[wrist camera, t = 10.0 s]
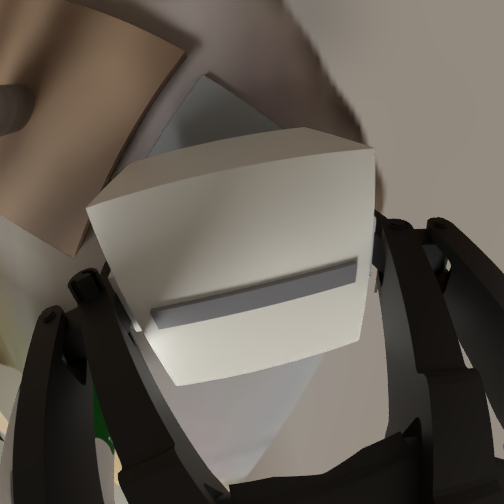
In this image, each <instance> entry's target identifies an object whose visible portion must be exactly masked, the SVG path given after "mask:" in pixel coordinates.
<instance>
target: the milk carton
mask: <svg viewBox="0 0 504 504" xmlns="http://www.w3.org/2000/svg"><path fill="white" fill-rule="evenodd" d="M63 362H64V360H63ZM20 386H21V384H20ZM19 391H20V387H19V390H18V393H17V396H16V399H15V403H14V406H13V409H12V413H11V417H10V420H9V424H8V428H7V432H6V437H5V441H4V447H3V452H2V457H1V464H0V504H14V499H13V477H12V462H13V440H14V428H15V419H16V411H17V404H18V397H19ZM93 415H94V432H95V444H96V454H97V463H98V470H99V477H100V483H101V489H102V494H103V500H104V504H115V501H114V453H115V447H114V445H113V442H112V440H111V437H110V434H109V431H108V429H107V426H106V423H105V420H104V417H103V414H102V411H101V408H100V405H99V401H98V398H97V395H96V391H95V387H94V384H93Z"/></svg>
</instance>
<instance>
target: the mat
mask: <svg viewBox="0 0 504 504" xmlns="http://www.w3.org/2000/svg"><path fill="white" fill-rule="evenodd" d="M276 130H283V129H282V128H281V127H279V126H278V125H277V124H275V123H274V122H273V121H271V120H270V119H269V118H267V117H266V116H265V115H263V114H262V113H260V112H259V111H258V110H256V109H255V108H253V107H252V106H251V105H249V104H248V103H246V102H245V101H243V100H242V99H240V98H239V97H237V96H236V95H234V94H233V93H231V92H230V91H228V90H227V89H225V88H224V87H222V86H221V85H219V84H217V83H216V82H214V81H213V80H211V79H209V78H208V77H206V76H204V75H202V77H201V78H200V79H199V81H198V82H197V83H196V85H195V86H194V87H193V89H192V90H191V91H190V93H189V94H188V96H187V97H186V98H185V100H184V101H183V103H182V104H181V105H180V107H179V108H178V110H177V111H176V113H175V114H174V116H173V117H172V119H171V120H170V122H169V123H168V125H167V126H166V128H165V129H164V131H163V133H162V134H161V136H160V137H159V139H158V141H157V142H156V144H155V145H154V147H153V149H152V150H151V152H150V154H149V156H148V157H152V156H155V155H159V154H163V153H166V152H170V151H174V150H178V149H182V148H186V147H190V146H195V145H199V144H204V143H208V142H213V141H218V140H223V139H228V138H233V137H239V136H244V135H250V134H256V133H262V132H269V131H276ZM148 157H147V158H148Z"/></svg>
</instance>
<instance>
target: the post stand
mask: <svg viewBox="0 0 504 504" xmlns="http://www.w3.org/2000/svg"><path fill="white" fill-rule="evenodd" d="M185 58H186V51H184V50H182V49H180V48H178V47H176V46H174V45H173V44H171V43H169V42H167V41H165V40H163V39H161V38H159V37H157V36H155V35H153V34H151V33H149V32H147V31H145V30H142V29H140V28H138V27H136V26H134V25H131V24H129V23H127V22H124V21H122V20H120V19H117V18H115V17H112V16H110V15H107V14H105V13H102V12H99V11H96V10H94V9H91V8H88V7H85V6H82V5H79V4H76V3H73V2H69V1H66V0H0V214H1V215H3V216H4V217H6V218H7V219H9V220H10V221H12V222H13V223H15V224H17V225H18V226H20V227H21V228H23V229H24V230H26V231H28V232H29V233H31V234H33V235H34V236H36V237H38V238H39V239H41V240H43V241H44V242H46V243H48V244H50V245H51V246H53V247H55V248H57V249H58V250H60V251H62V252H64V253H65V254H67V255H69V256H71V257H73V258H74V257H75V255H76V254H77V252H78V251H79V249H80V248H81V245H82V243H83V240H84V237H85V235H86V232H87V230H88V227H89V225H90V222H91V221H90V219H89V216H88V213H87V211H86V207H87V206H88V205H89V204H90V203H91V202H92V200H93V199H94V198H95V197H96V196H97V195H98V194H99V193H100V192H101V191H102V190H103V189H104V188H105V187H106V186H107V184H108V182H109V180H110V178H111V176H112V174H113V172H114V170H115V168H116V166H117V164H118V162H119V160H120V158H121V156H122V154H123V152H124V151H125V149H126V147H127V145H128V143H129V142H130V140H131V138H132V136H133V135H134V133H135V131H136V129H137V128H138V126H139V124H140V123H141V121H142V119H143V118H144V116H145V115H146V113H147V111H148V110H149V108H150V107H151V105H152V104H153V102H154V101H155V99H156V98H157V96H158V95H159V93H160V92H161V90H162V89H163V87H164V86H165V85H166V83H167V82H168V80H169V79H170V78H171V76H172V75H173V73H174V72H175V71H176V69H177V68H178V67H179V65H180V64H181V63H182V62H183V60H184V59H185Z"/></svg>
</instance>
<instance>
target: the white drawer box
mask: <svg viewBox="0 0 504 504" xmlns="http://www.w3.org/2000/svg"><path fill="white" fill-rule="evenodd" d="M374 204H375V148H373V147H370V146H367V145H364V144H361V143H358V142H355V141H352V140H348V139H345V138H342V137H339V136H335V135H332V134H328V133H325V132H321V131H318V130H314V129H310V128H306V127H300V128H291V129H283V130H276V131H269V132H262V133H256V134H250V135H244V136H239V137H233V138H228V139H223V140H218V141H213V142H208V143H204V144H199V145H195V146H190V147H186V148H182V149H178V150H174V151H170V152H166V153H163V154H159V155H155V156H152V157H148V158H145V159H141V160H138V161H134V162H131V163H130V164H129V165H128V166H126V167H125V168H124V169H123V170H122V171H121V172H120V173H119V174H118V175H117V176H116V177H115V178H114V179H113V180H112V181H111V182H110V183H109V184H108V185H107V186H106V187H105V188H104V189H103V190H102V191H101V192H100V193H99V194H98V195H97V196H96V197H95V198H94V199H93V200H92V202H91V203H90V204H89V205H88V206H87V207H86V211H87V213H88V216H89V219H90V221H91V224H92V227H93V229H94V232H95V234H96V237H97V239H98V241H99V244H100V246H101V249H102V251H103V253H104V256H105V258H106V260H107V262H108V264H109V267H110V269H111V271H112V273H113V275H114V277H115V280H116V282H117V284H118V286H119V288H120V290H121V292H122V294H123V296H124V298H125V300H126V302H127V304H128V306H129V308H130V309H131V311H132V313H133V315H134V317H135V319H136V321H137V322H138V324H139V326H140V328H141V330H142V331H143V333H144V335H145V337H146V338H147V340H148V342H149V343H150V345H151V347H152V348H153V350H154V352H155V353H156V355H157V357H158V358H159V360H160V362H161V363H162V365H163V366H164V368H165V369H166V371H167V372H168V374H169V376H170V377H171V379H172V380H173V382H174V383H175V385H176V386H181V385H188V384H194V383H200V382H206V381H211V380H217V379H222V378H227V377H232V376H236V375H241V374H245V373H250V372H254V371H258V370H263V369H267V368H271V367H275V366H278V365H282V364H286V363H290V362H293V361H297V360H300V359H304V358H307V357H310V356H314V355H317V354H320V353H323V352H326V351H329V350H332V349H335V348H338V347H342V346H345V345H347V344H350V343H353V342H356V341H359V338H360V333H361V327H362V321H363V314H364V308H365V302H366V295H367V287H368V280H369V271H370V262H371V251H372V239H373V224H374Z"/></svg>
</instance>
